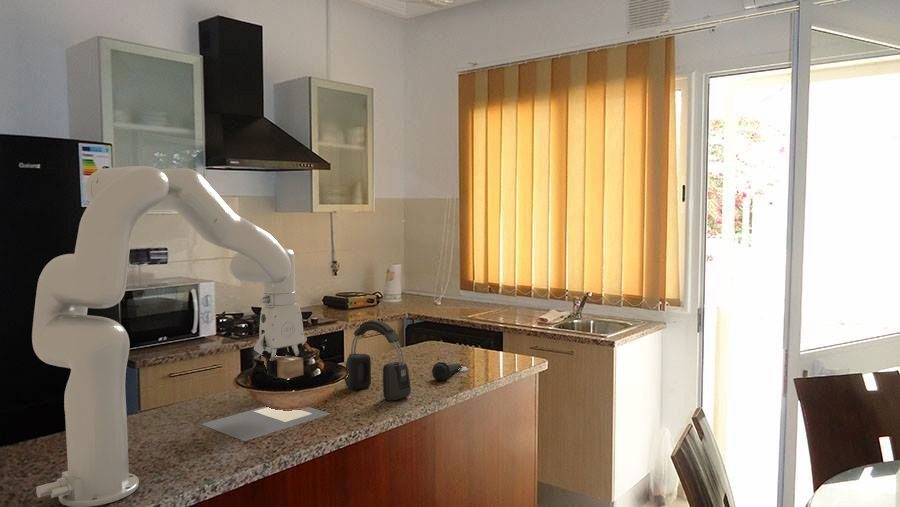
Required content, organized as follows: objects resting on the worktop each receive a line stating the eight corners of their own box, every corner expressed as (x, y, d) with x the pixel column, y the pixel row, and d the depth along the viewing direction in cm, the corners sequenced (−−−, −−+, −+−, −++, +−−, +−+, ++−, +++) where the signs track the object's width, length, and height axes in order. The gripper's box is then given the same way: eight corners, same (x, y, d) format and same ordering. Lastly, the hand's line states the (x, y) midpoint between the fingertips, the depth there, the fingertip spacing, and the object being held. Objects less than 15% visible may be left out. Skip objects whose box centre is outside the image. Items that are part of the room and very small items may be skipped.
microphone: (456, 376, 207) (431, 384, 188) (451, 359, 208) (426, 365, 189) (471, 373, 205) (448, 380, 187) (467, 355, 206) (443, 360, 188)
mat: (244, 443, 139) (244, 440, 139) (200, 426, 151) (200, 423, 151) (331, 416, 158) (331, 413, 158) (286, 402, 169) (286, 400, 169)
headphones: (342, 388, 183) (341, 318, 182) (359, 383, 188) (358, 315, 186) (396, 403, 168) (395, 327, 167) (413, 398, 173) (412, 324, 171)
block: (261, 372, 160) (261, 356, 159) (278, 368, 163) (278, 352, 163) (286, 379, 153) (285, 362, 153) (303, 374, 157) (302, 358, 157)
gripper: (258, 305, 148) (261, 383, 149) (317, 296, 161) (319, 368, 162) (240, 302, 153) (242, 378, 154) (299, 294, 166) (301, 364, 167)
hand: (282, 372), depth 158 cm, fingers closed on block, 5 cm apart
